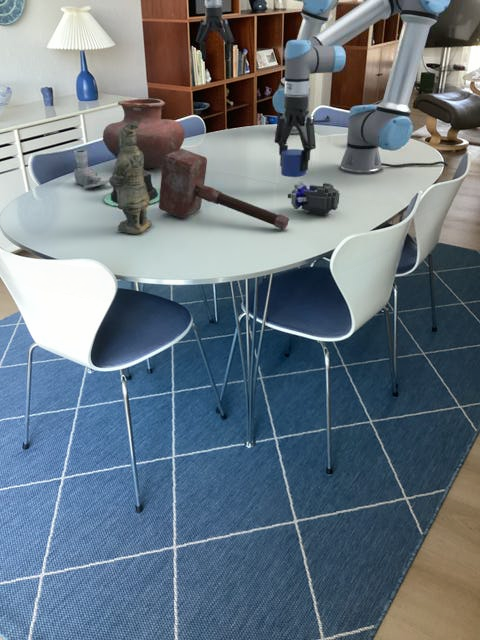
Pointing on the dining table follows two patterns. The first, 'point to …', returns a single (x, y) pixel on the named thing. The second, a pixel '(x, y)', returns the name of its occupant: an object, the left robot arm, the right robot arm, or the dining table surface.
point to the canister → (291, 163)
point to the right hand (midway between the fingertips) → (293, 167)
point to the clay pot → (146, 131)
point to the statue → (131, 182)
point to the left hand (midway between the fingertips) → (215, 59)
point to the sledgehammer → (200, 190)
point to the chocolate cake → (152, 192)
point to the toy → (315, 198)
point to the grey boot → (86, 171)
